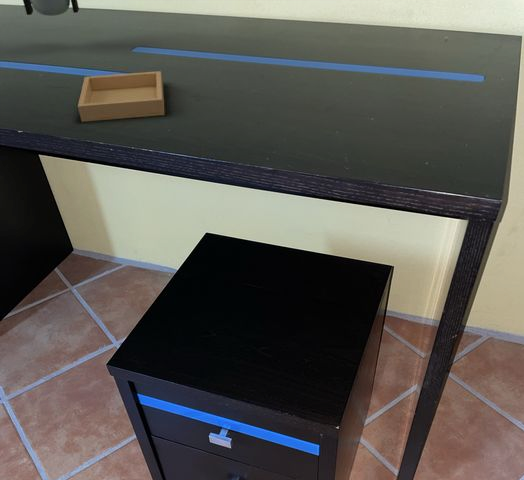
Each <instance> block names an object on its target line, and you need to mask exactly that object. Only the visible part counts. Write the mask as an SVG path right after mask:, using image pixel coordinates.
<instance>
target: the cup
mask: <svg viewBox="0 0 524 480" xmlns="http://www.w3.org/2000/svg"><path fill="white" fill-rule="evenodd" d="M30 2H31V5H32V8H33V10H35V11H36V12H37V13H39V14H40V15H43V16H48V17H49V16H50V17H53V16H54V17H55V16H60V15H63V14H65V13H67V11H68V10H69V9H70V4H71V0H30Z"/></svg>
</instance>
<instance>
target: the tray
mask: <svg viewBox="0 0 524 480" xmlns="http://www.w3.org/2000/svg"><path fill="white" fill-rule="evenodd" d="M163 83H164V82H163V76H162V71H148V72H147V71H146V72H132V73H131V72H130V73H118V74H106V75H105V74H104V75H93V76H92V75H91V76H85V77H84V79H83V82H82V86H81V92H80V94H79V95H80V96H79V99H78V104H77V109H78V113H79V116H80V120H81V122H94V121H95V122H97V121H107V120H108V121H109V120H119V119H131V118H143V117H156V116H165V115H166V114H165V97H164V84H163Z"/></svg>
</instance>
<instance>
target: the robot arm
mask: <svg viewBox="0 0 524 480" xmlns="http://www.w3.org/2000/svg"><path fill="white" fill-rule="evenodd" d="M22 2H23V5H24V9H25V13H26V15H27V16H29V15H30V16H32V14H33V12H34V7H33V6H32V4H31V2H30V0H22ZM70 4H71V7H72V12H73V13H74V14H75V13H76V14H77V13H79V10H80V7H79V3H78V0H70Z"/></svg>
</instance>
